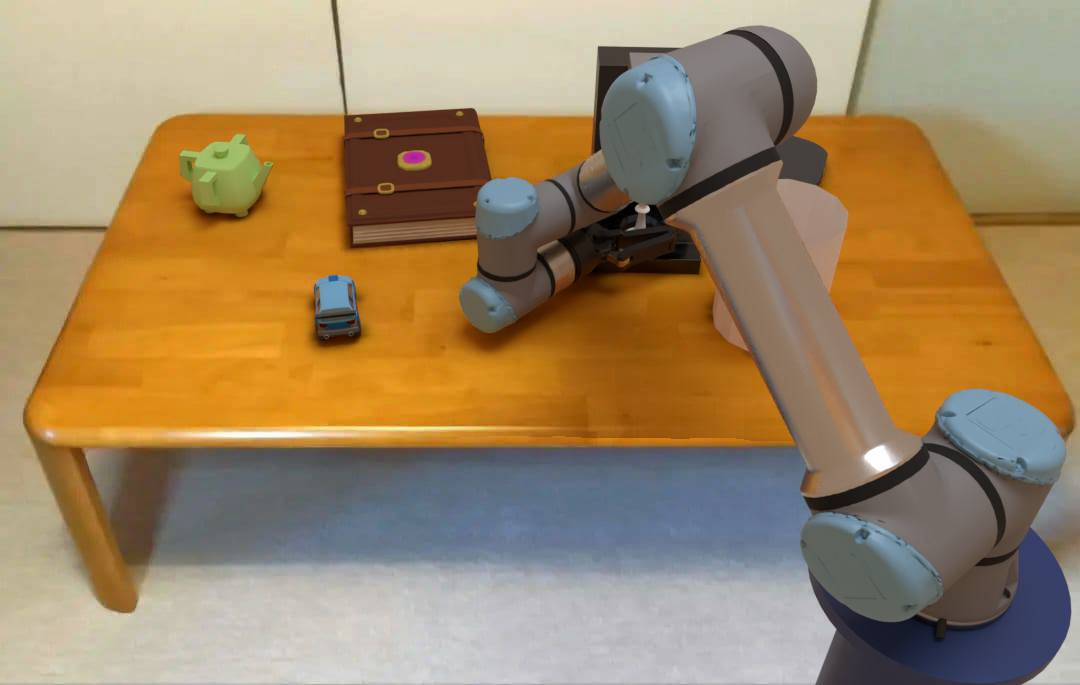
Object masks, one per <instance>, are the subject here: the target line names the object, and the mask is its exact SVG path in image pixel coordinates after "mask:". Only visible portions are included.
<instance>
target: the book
mask: <svg viewBox="0 0 1080 685" xmlns="http://www.w3.org/2000/svg"><path fill="white" fill-rule="evenodd" d="M343 128H344V132H343V133H344V135H342V139H343V140H342V142H343V148H344V150H343V151H344V159H345V160H344V162H345V164H344V165H345V166H344V167H345V191H344V201H345V209H346V226H348V227H349V248H359V247H373V246H387V245H398V244H400V245H401V244H413V243H428V242H439V241H441V242H442V241H452V240H466V239H467V240H468V239H477V229H476V224H475V216H476V204H477V196H478V193H479V191H480V189H481V188H482V187H483V186H484V185H485V184H486V183H487V182H489V181H491V180H493V179H492V174H491V170H490V165H489V160H488V157H487V152H486V148H485V144H486V143H485V136H484V132H483V131H482V129H481V124H480V120H479V116H478V111H477V110H476V109H475V107H463V108H448V109H447V108H445V109H433V110H432V109H431V110H429V109H428V110H416V111H414V110H413V111H397V112H396V111H395V112H380V113H363V114H362V113H361V114H349V115H348V114H347V115H346V114H345V115H343Z"/></svg>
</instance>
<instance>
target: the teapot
mask: <svg viewBox="0 0 1080 685" xmlns="http://www.w3.org/2000/svg"><path fill="white" fill-rule="evenodd" d="M178 159H179V160H178V161H179V176H180V177H181V178H184V179H185V180H186V181H188V182H189V183H191V195H192V199H193V201H194V202H193V203H195V205H196V206H197V207H199V208H200V209H201V210H203V211H204V212H205V213H207V214H214V213H221V214H233V215H235V216H236V217H238V218H242V217H246V216H247V215H248V214H249V211H248V210H249V209H250V208H252V206H253V205H254V204H255V203H256V202H257V200H259V198H260V197H261V194H262V191H263V188H264V187H265V186H266V183H267V181H268V179H269V176H270V173H271V172H272V169H273V167H274V165H275V163H274V162H271V161H267V160H266V161H264V163H263V165H262V164H261V162H260V160H259V159H258V157H257V156H256V154H255V152H254V150H253V149H252V147H250V145H249V142H248V138H247V136H246V134H242V133H236V134H235V135H234V136H233V137H232V138H231V140H230V141H214V142H211V143H209V144H208V145H207V146H205V148H204V149H203V150H201V151H192V150H186V149H183V150H182V151H181V152H180V153H179V158H178ZM192 163H194V164H192Z"/></svg>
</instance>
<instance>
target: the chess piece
mask: <svg viewBox="0 0 1080 685" xmlns="http://www.w3.org/2000/svg"><path fill="white" fill-rule="evenodd" d="M635 210H636V211H637V212H638V218H637V222H636V226H635V227H633V228H630V229H628V230H626V231H629V230H636V229H643V228H646V222H645V213H648V212H649V211H650V208H649V206H648V205H647V204H642V203H639V204H638V205H637V206H636V207H635Z"/></svg>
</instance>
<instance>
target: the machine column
mask: <svg viewBox="0 0 1080 685" xmlns="http://www.w3.org/2000/svg"><path fill="white" fill-rule="evenodd" d="M680 48H681V47H672V46H671V47H666V46H665V47H663V46H654V47H653V46H618V45H617V46H616V45H615V46H614V45H613V46H611V45H610V46H609V45H598V46H597V50H596V51H597V52H596V66H595V67H596V68H595V84H594V100H593V101H594V102H593V118H592V119H593V120H592V131H591V132H592V134H591V150H590V157H591V156H592V155H594V154H595V153H597V152H598V151H600V150H601V149H602V148H601V142H600V121H601V118H602V117H601V109H602V105H603V102H604V99H605V96H606V94H607V92H608V90H609V88H610V87H611V85H612V84H613V82H614V81H615V80H616V79H617V78H618V77H619V76H620V75H622V74H623V73H625V72H626V71H628V70H630V69H632V68H634V67H636V66H638V65H640V64H642V63H644V62H646V61H648V60H650V59H651V58H653V57H654V56H657V55H662V54H665V53H668V52H671V51H674V50H677V49H680Z"/></svg>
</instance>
